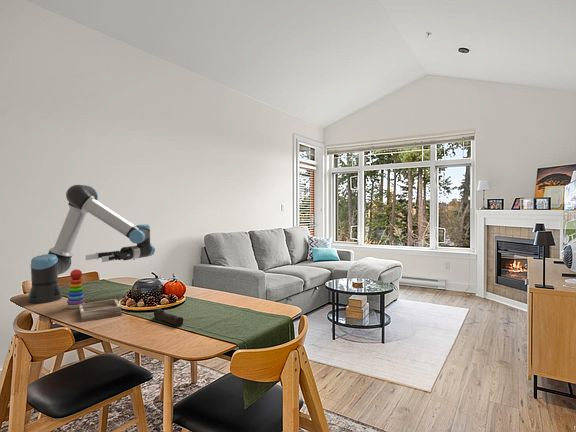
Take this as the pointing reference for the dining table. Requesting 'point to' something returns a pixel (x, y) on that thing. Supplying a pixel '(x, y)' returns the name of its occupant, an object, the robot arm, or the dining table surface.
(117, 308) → the grey wooden tray
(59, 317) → the dining table surface
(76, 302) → the stacking toy
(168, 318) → the hand tool
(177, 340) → the dining table surface
